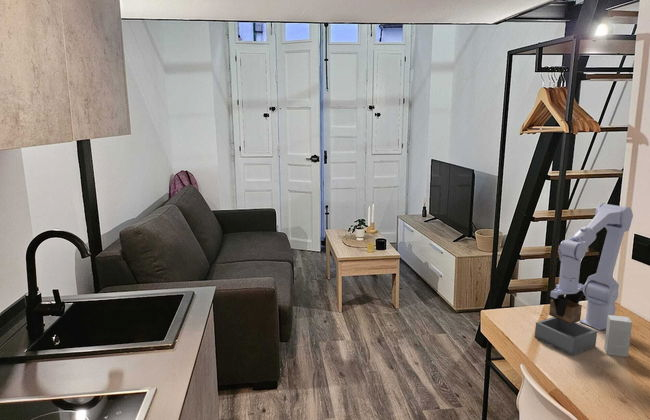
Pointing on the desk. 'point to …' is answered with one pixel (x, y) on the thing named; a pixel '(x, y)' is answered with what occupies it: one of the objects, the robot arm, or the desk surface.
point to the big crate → (566, 335)
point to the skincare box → (618, 335)
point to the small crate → (567, 312)
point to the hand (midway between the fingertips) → (565, 313)
